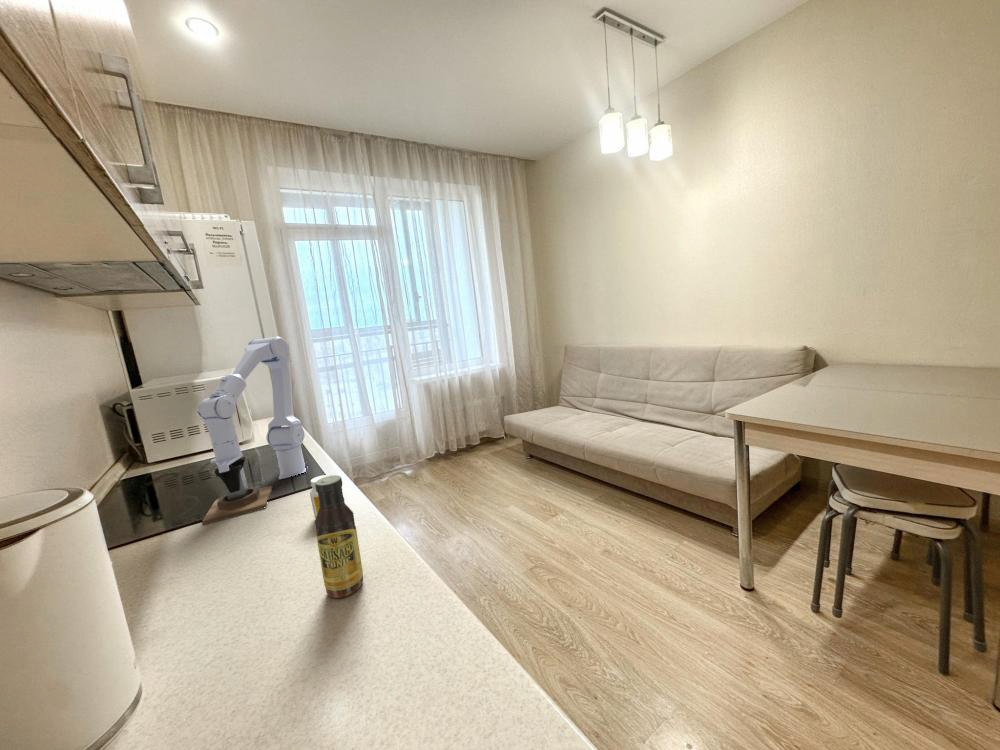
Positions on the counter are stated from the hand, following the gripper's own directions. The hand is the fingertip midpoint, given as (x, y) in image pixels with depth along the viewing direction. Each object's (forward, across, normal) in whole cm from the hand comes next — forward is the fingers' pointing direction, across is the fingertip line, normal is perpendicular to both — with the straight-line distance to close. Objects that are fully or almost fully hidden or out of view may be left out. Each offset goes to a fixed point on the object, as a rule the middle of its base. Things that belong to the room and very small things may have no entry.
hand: (236, 488), depth 106 cm
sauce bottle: (+5, +54, +25) cm, 60 cm away
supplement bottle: (+5, +23, +22) cm, 32 cm away
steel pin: (+3, 0, 0) cm, 3 cm away
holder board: (+5, 0, 0) cm, 5 cm away
